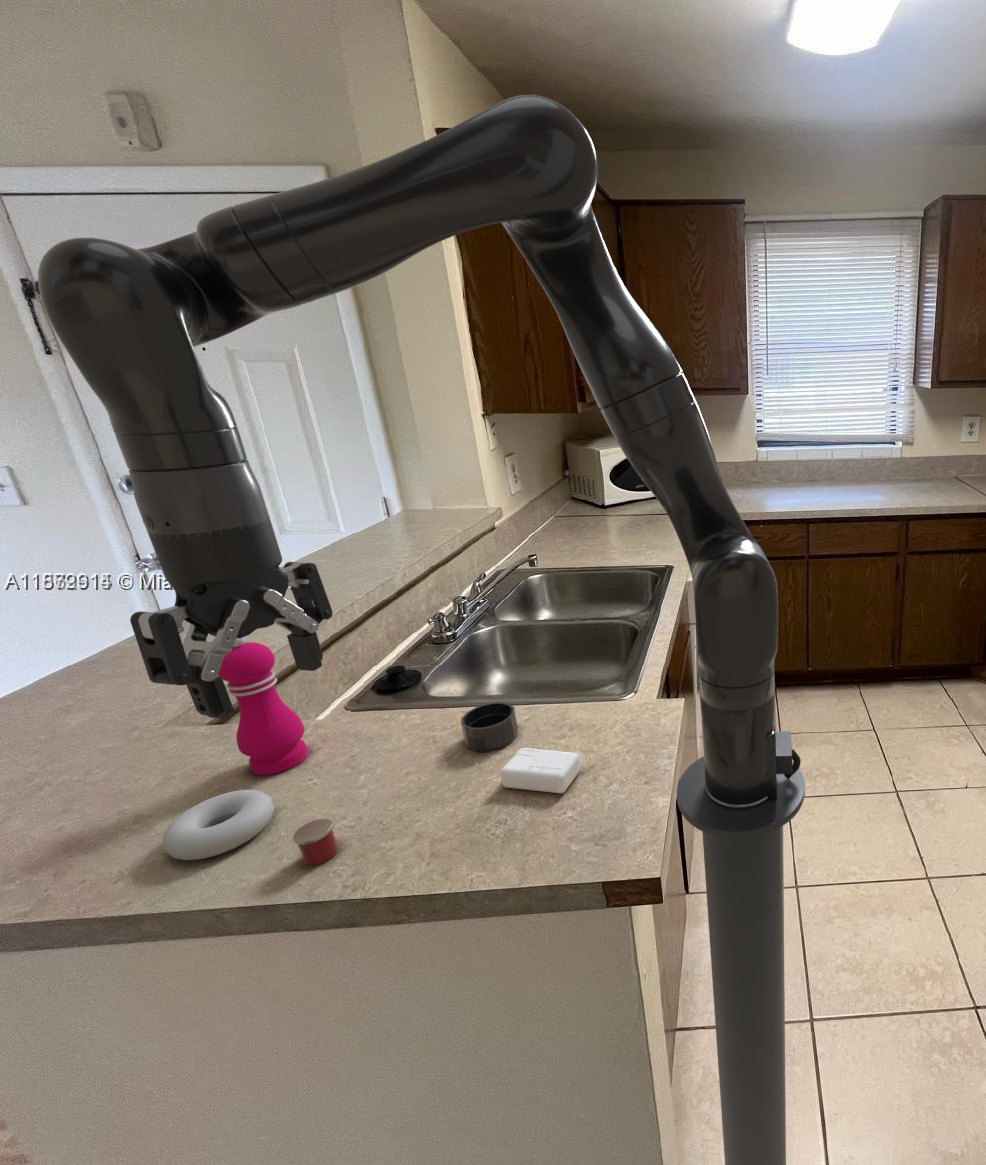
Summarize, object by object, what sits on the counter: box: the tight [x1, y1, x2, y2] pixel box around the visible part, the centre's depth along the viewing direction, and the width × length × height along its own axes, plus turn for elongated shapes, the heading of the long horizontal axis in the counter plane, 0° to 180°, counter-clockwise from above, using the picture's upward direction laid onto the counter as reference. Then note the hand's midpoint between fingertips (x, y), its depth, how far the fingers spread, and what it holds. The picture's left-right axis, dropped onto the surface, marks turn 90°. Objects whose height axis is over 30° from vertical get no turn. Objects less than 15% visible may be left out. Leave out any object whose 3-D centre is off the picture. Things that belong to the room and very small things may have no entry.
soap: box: [499, 747, 582, 794], centre depth 80 cm, size 9×6×3 cm, turn 81°
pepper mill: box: [217, 636, 309, 776], centre depth 81 cm, size 7×7×20 cm
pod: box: [292, 818, 339, 866], centre depth 67 cm, size 4×4×4 cm
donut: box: [162, 789, 275, 861], centre depth 71 cm, size 10×4×10 cm
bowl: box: [460, 701, 519, 753], centre depth 89 cm, size 7×7×4 cm
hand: (269, 690), depth 54 cm, fingers open, 8 cm apart
